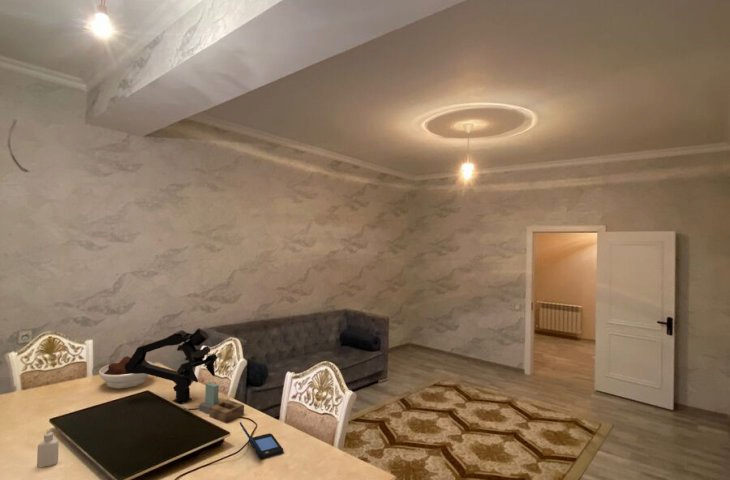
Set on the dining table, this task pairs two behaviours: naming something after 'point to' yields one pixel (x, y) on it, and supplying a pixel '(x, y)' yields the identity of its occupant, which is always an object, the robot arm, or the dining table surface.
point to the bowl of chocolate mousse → (121, 375)
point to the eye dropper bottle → (47, 450)
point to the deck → (205, 407)
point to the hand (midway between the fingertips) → (206, 378)
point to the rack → (226, 411)
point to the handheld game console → (264, 444)
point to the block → (211, 393)
